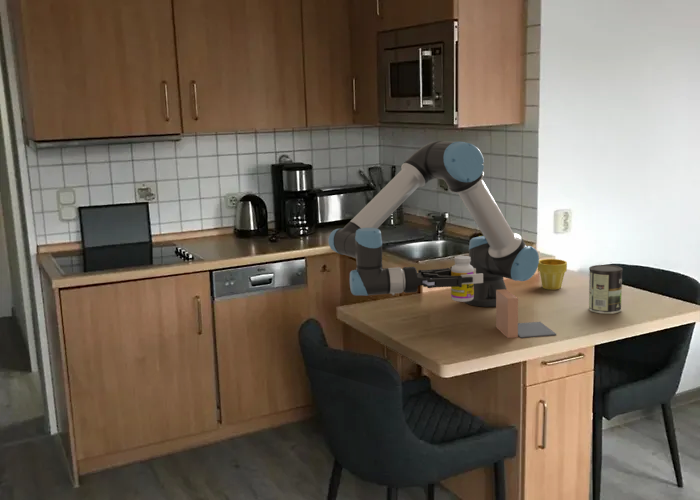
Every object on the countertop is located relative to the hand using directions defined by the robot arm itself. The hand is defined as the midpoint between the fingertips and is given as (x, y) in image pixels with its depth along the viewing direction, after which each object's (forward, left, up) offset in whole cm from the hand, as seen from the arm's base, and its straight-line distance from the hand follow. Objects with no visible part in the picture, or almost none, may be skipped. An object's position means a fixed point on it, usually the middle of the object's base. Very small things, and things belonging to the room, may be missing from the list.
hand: (479, 275), depth 225 cm
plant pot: (-10, +63, -18) cm, 66 cm away
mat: (+10, +12, -18) cm, 24 cm away
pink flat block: (+5, +7, -18) cm, 20 cm away
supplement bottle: (-3, -4, -7) cm, 9 cm away
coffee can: (+18, +46, -18) cm, 53 cm away
